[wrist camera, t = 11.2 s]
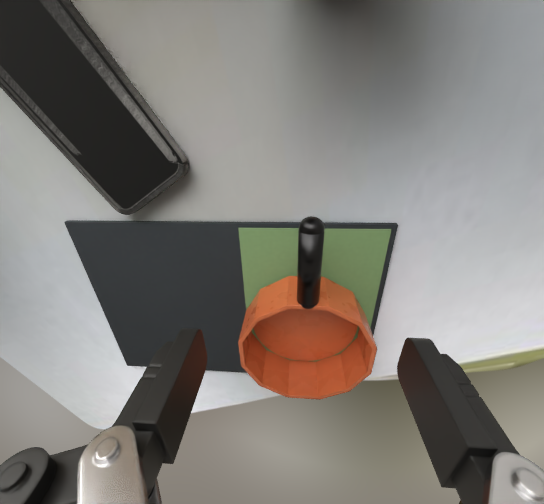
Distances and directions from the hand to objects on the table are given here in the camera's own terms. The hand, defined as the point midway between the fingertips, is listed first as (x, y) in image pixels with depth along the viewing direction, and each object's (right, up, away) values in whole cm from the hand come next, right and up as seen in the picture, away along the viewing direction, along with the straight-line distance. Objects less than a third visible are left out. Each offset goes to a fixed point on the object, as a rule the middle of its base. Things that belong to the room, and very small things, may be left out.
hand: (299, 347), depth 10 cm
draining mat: (-5, -2, +17) cm, 18 cm away
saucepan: (+2, -1, +15) cm, 15 cm away
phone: (-15, +15, +9) cm, 23 cm away
